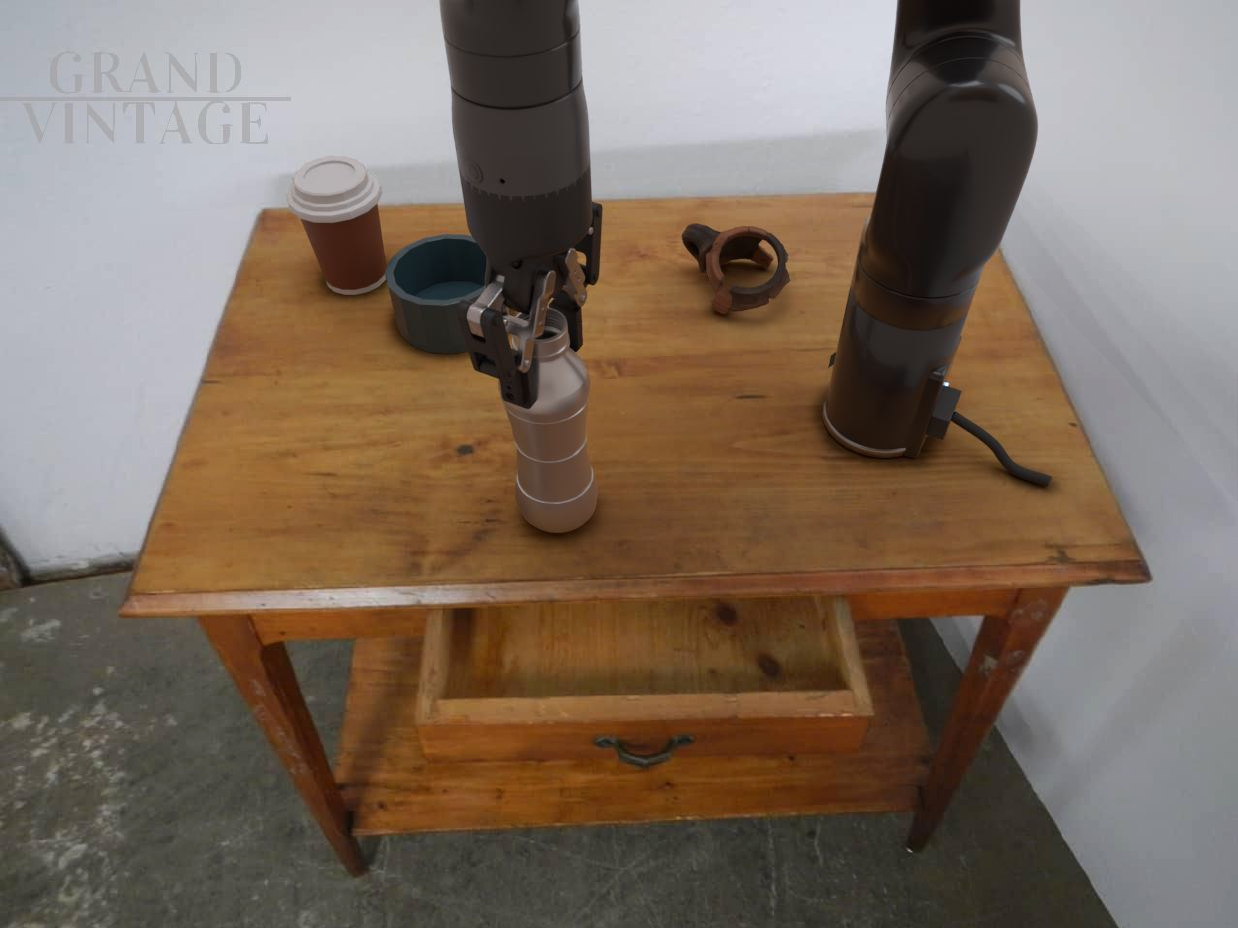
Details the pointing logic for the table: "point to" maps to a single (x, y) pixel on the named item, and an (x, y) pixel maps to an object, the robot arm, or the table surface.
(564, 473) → the tan bottle
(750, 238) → the brown ring bracket
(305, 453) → the table surface
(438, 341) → the bowl
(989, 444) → the robot arm
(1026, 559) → the table surface
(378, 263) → the coffee cup
